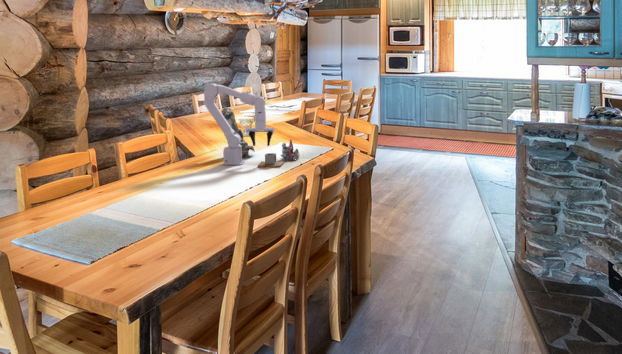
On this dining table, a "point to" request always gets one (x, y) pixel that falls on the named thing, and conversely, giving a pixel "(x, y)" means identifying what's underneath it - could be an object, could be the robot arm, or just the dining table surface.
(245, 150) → the statue
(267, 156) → the collar
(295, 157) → the red grey chunky piece
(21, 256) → the dining table surface
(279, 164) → the shaft block
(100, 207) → the dining table surface
